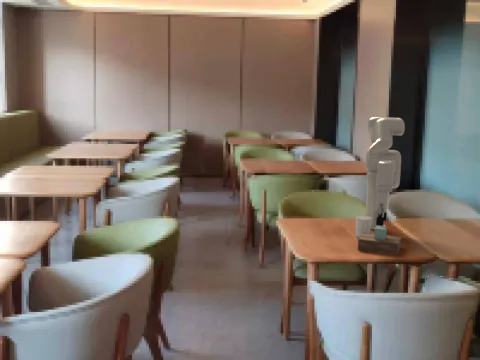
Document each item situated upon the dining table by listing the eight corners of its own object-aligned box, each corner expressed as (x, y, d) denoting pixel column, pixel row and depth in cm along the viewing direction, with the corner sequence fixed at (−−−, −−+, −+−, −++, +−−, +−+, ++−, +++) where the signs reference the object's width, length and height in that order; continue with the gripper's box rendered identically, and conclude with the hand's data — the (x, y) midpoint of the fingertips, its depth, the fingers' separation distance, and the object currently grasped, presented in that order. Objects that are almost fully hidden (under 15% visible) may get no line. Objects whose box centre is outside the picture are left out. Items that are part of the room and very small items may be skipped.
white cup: (358, 239, 290) (359, 219, 288) (352, 234, 297) (353, 215, 296) (372, 238, 291) (374, 219, 289) (366, 234, 299) (367, 215, 297)
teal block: (375, 236, 277) (376, 225, 276) (386, 237, 275) (387, 227, 274) (374, 238, 272) (374, 228, 272) (384, 239, 271) (385, 229, 270)
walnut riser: (363, 242, 284) (363, 232, 283) (400, 246, 278) (401, 236, 277) (357, 249, 271) (358, 239, 271) (397, 254, 265) (397, 244, 264)
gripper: (378, 183, 279) (376, 217, 282) (372, 190, 263) (370, 226, 267) (394, 184, 276) (391, 219, 280) (389, 192, 261) (386, 228, 264)
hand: (381, 222), depth 273 cm, fingers open, 9 cm apart
